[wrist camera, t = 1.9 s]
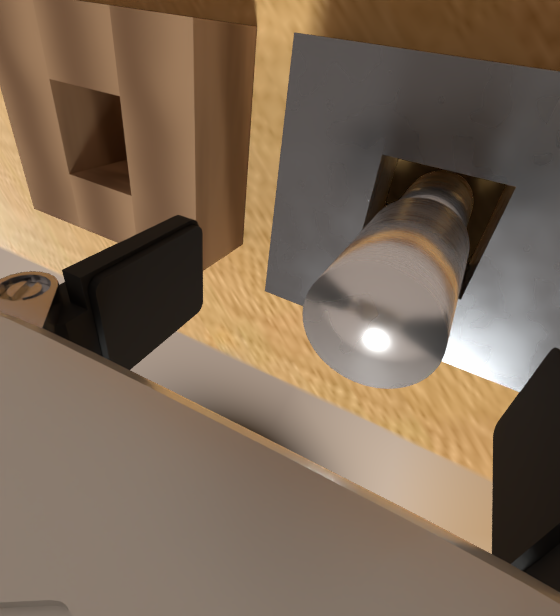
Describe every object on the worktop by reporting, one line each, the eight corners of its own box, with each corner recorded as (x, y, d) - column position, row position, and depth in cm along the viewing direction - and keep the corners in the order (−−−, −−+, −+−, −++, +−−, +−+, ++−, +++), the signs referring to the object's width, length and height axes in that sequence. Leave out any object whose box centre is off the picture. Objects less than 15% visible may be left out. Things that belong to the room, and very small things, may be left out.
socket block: (703, 92, 13) (759, 101, 10) (529, 347, 20) (532, 396, 17) (331, 37, 17) (294, 32, 15) (295, 263, 25) (264, 291, 22)
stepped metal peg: (466, 149, 17) (414, 243, 8) (491, 225, 18) (469, 382, 9) (387, 183, 19) (280, 285, 11) (413, 249, 21) (336, 393, 12)
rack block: (256, 26, 19) (193, 17, 15) (242, 244, 26) (196, 274, 22) (59, -3, 23) (-28, -15, 19) (93, 190, 30) (34, 208, 26)
